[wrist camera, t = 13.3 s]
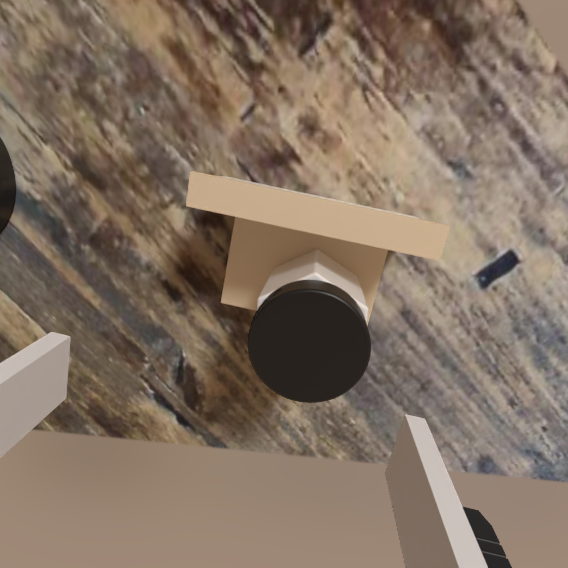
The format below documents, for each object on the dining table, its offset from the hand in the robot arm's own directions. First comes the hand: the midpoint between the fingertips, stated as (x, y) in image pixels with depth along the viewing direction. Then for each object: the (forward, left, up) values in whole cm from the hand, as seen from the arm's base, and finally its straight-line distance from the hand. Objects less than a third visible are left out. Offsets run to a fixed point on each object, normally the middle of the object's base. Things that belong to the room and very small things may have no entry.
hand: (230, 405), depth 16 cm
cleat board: (+2, +1, -26) cm, 26 cm away
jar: (+3, -2, -23) cm, 24 cm away
